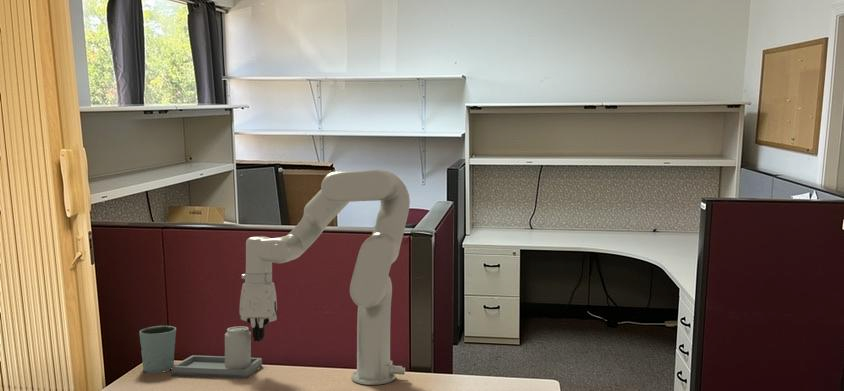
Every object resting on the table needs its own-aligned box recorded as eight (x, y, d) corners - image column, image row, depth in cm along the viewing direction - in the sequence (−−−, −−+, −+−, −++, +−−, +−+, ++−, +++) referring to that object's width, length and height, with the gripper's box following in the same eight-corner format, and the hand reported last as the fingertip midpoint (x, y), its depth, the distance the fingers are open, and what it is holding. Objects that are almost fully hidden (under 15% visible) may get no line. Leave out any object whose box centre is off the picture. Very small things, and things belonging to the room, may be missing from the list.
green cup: (182, 365, 191) (182, 326, 191) (165, 374, 181) (165, 333, 181) (150, 363, 192) (150, 325, 192) (132, 373, 182) (132, 332, 182)
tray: (262, 366, 190) (262, 358, 190) (245, 378, 178) (245, 370, 178) (192, 363, 193) (192, 355, 193) (171, 375, 180) (171, 366, 180)
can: (243, 372, 180) (243, 331, 180) (219, 371, 181) (219, 330, 181) (255, 365, 187) (255, 325, 187) (232, 363, 189) (232, 324, 189)
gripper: (229, 279, 180) (229, 342, 181) (278, 281, 179) (278, 344, 179) (240, 276, 188) (239, 336, 188) (287, 277, 186) (287, 338, 186)
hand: (258, 340), depth 183 cm, fingers closed
